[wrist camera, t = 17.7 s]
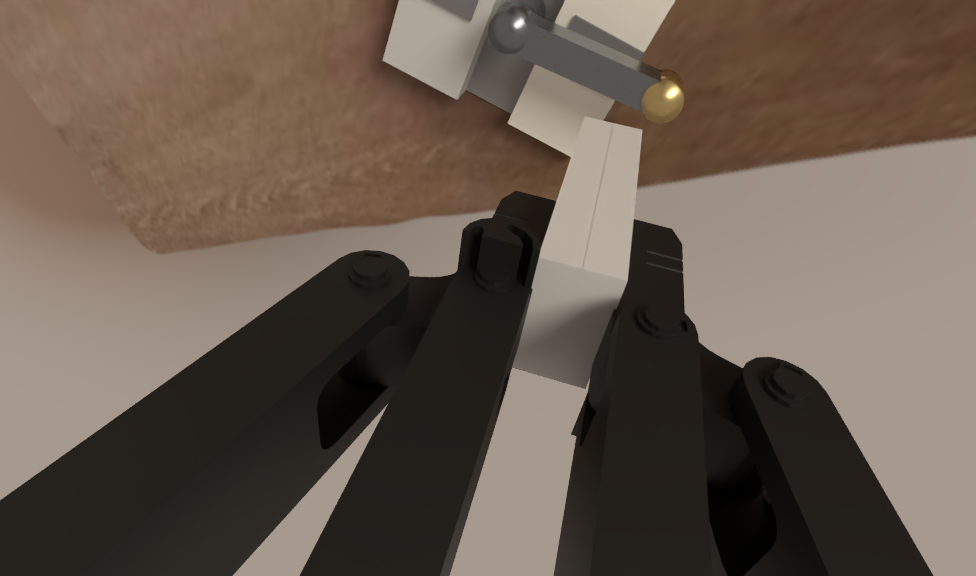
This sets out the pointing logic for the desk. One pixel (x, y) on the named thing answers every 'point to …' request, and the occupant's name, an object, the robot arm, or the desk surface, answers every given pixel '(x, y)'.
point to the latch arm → (585, 60)
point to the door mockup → (517, 58)
